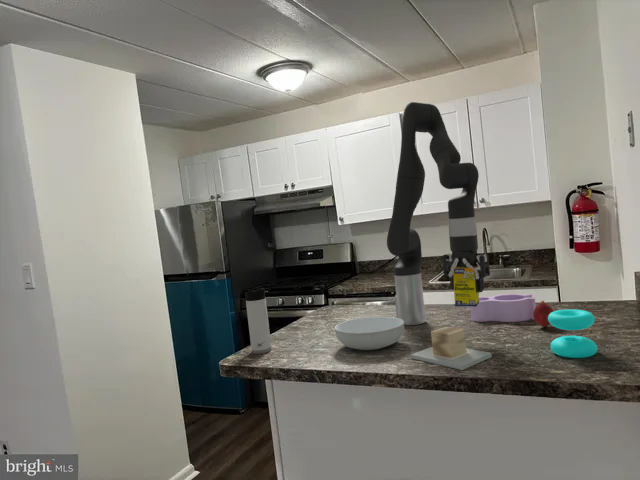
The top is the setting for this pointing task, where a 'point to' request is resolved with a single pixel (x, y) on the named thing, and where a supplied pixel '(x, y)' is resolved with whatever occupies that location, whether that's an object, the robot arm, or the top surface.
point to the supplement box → (465, 287)
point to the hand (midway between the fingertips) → (467, 290)
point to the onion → (542, 314)
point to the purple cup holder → (504, 308)
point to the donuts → (572, 344)
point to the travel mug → (258, 321)
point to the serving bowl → (369, 332)
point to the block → (449, 342)
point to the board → (457, 362)
